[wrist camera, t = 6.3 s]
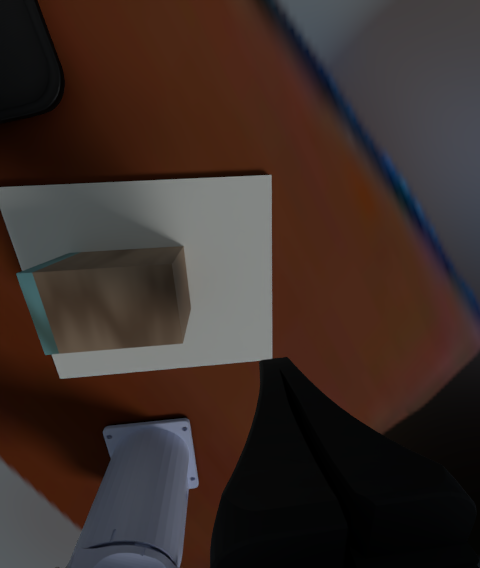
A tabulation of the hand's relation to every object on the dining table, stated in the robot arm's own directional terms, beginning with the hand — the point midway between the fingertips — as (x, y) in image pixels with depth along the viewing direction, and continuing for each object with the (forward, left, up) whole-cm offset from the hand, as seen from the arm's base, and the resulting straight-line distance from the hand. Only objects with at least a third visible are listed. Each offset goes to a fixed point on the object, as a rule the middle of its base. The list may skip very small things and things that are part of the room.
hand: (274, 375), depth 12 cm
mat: (+2, +7, -9) cm, 12 cm away
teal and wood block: (+2, +5, -6) cm, 8 cm away
